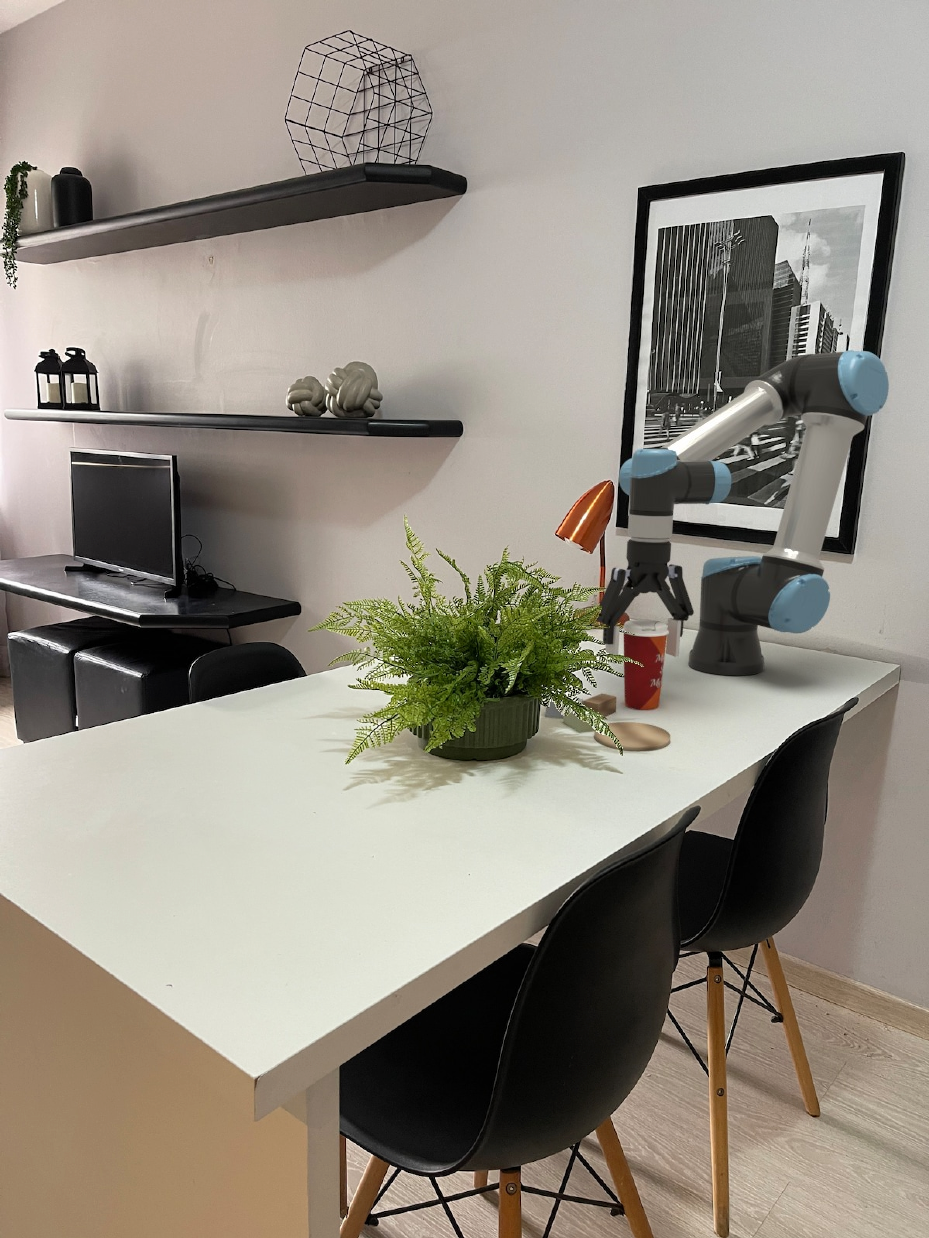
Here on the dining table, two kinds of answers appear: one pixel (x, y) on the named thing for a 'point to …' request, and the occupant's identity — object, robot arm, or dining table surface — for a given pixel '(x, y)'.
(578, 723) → the olive block
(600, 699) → the walnut block
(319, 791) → the dining table surface
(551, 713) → the slate block
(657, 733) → the disc
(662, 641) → the coffee cup
